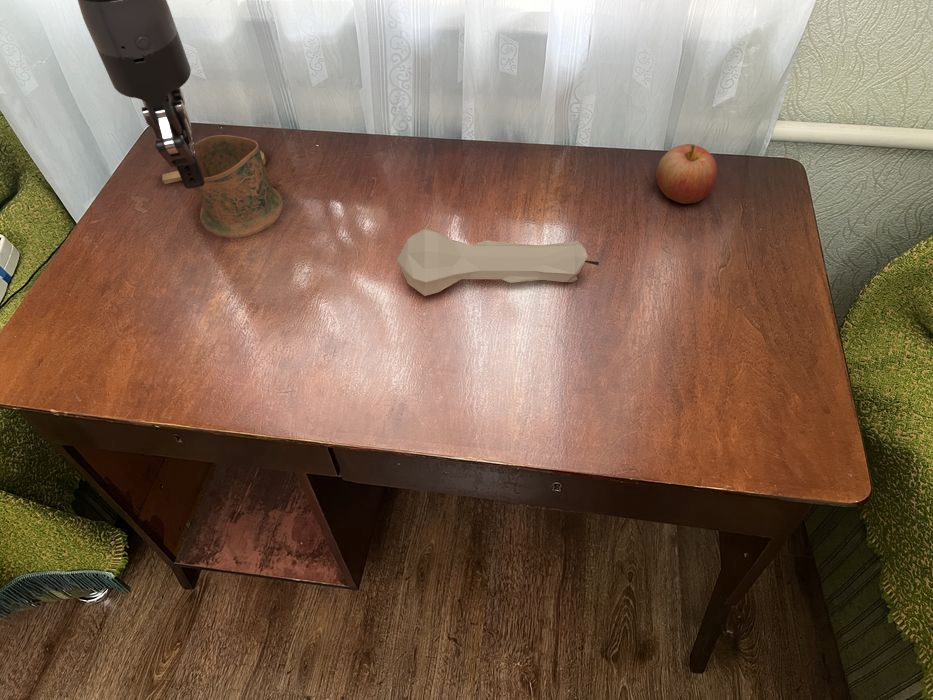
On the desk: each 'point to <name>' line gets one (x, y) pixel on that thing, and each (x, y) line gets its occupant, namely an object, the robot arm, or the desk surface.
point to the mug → (235, 187)
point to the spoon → (176, 176)
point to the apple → (687, 173)
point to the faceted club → (485, 261)
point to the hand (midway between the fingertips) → (195, 183)
